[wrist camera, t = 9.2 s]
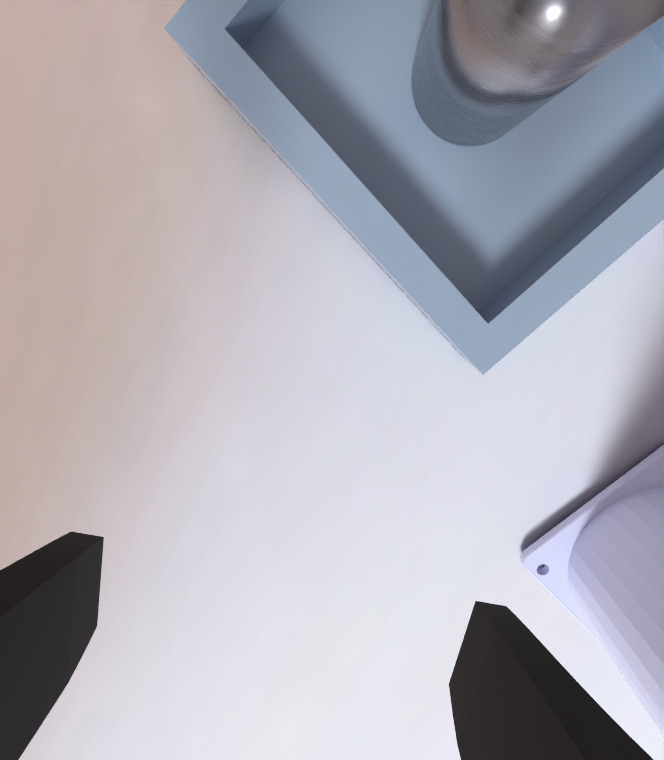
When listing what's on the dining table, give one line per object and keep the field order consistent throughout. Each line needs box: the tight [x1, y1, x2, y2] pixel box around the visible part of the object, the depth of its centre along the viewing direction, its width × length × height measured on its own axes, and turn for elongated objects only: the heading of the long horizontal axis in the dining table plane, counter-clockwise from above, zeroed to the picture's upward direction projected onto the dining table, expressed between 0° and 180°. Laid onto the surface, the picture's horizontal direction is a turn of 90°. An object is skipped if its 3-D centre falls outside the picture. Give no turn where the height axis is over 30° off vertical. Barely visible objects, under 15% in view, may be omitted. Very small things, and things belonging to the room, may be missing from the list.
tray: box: [165, 0, 664, 374], centre depth 15 cm, size 14×12×2 cm
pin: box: [411, 0, 664, 146], centre depth 12 cm, size 4×4×8 cm
